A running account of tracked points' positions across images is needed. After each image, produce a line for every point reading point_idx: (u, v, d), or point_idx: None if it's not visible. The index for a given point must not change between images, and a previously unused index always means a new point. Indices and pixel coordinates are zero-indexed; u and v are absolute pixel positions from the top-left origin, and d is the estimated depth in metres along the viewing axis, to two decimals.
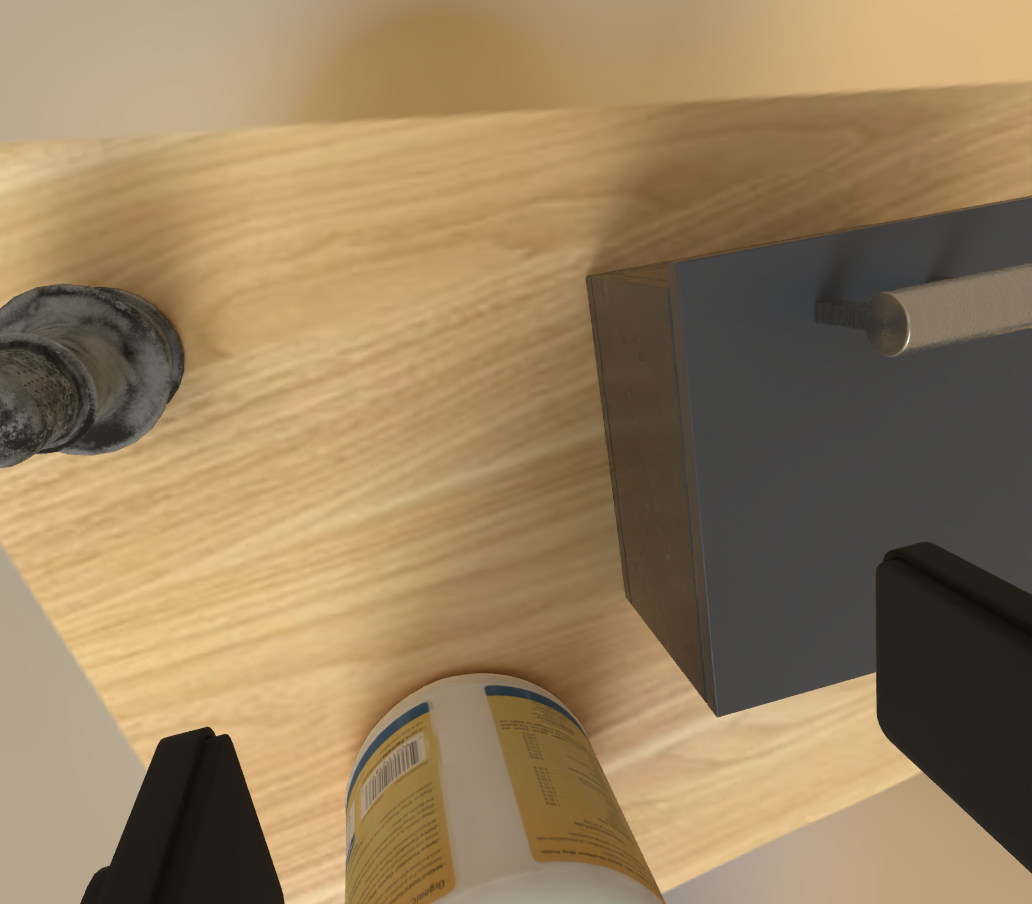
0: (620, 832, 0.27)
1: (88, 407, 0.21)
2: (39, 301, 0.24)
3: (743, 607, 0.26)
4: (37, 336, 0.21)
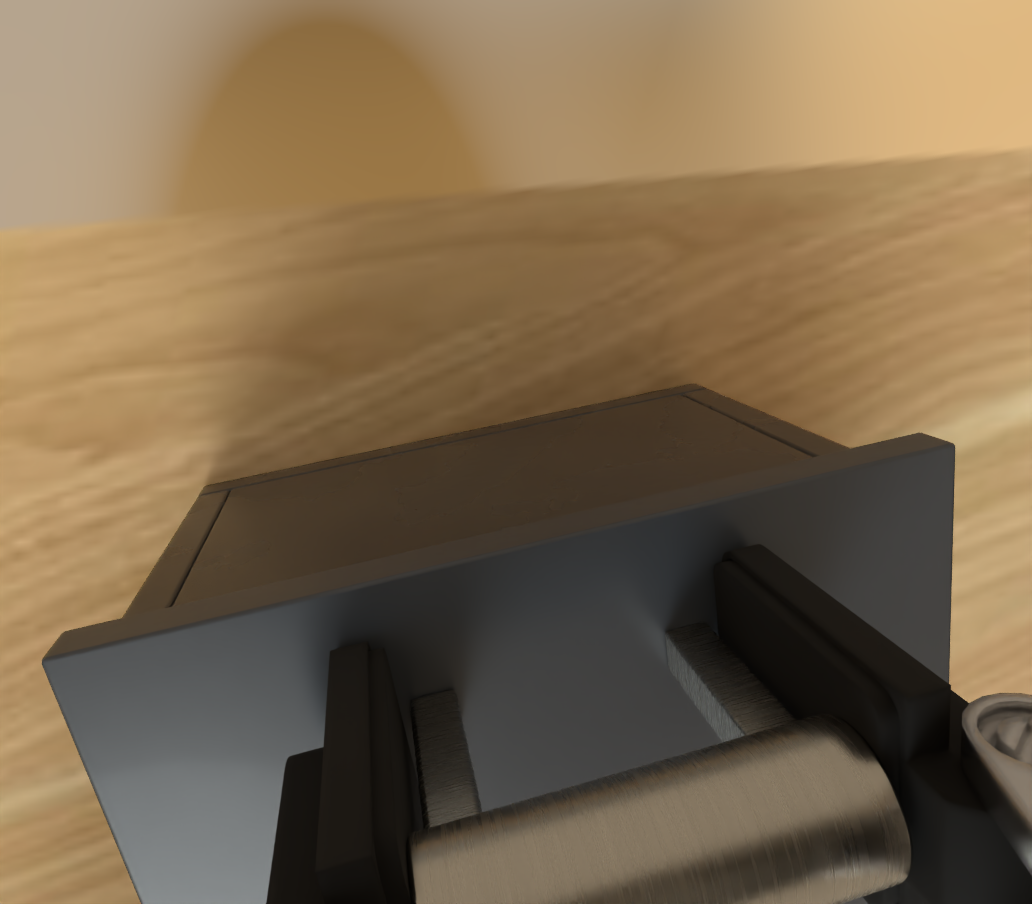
0: None
1: None
2: None
3: None
4: None
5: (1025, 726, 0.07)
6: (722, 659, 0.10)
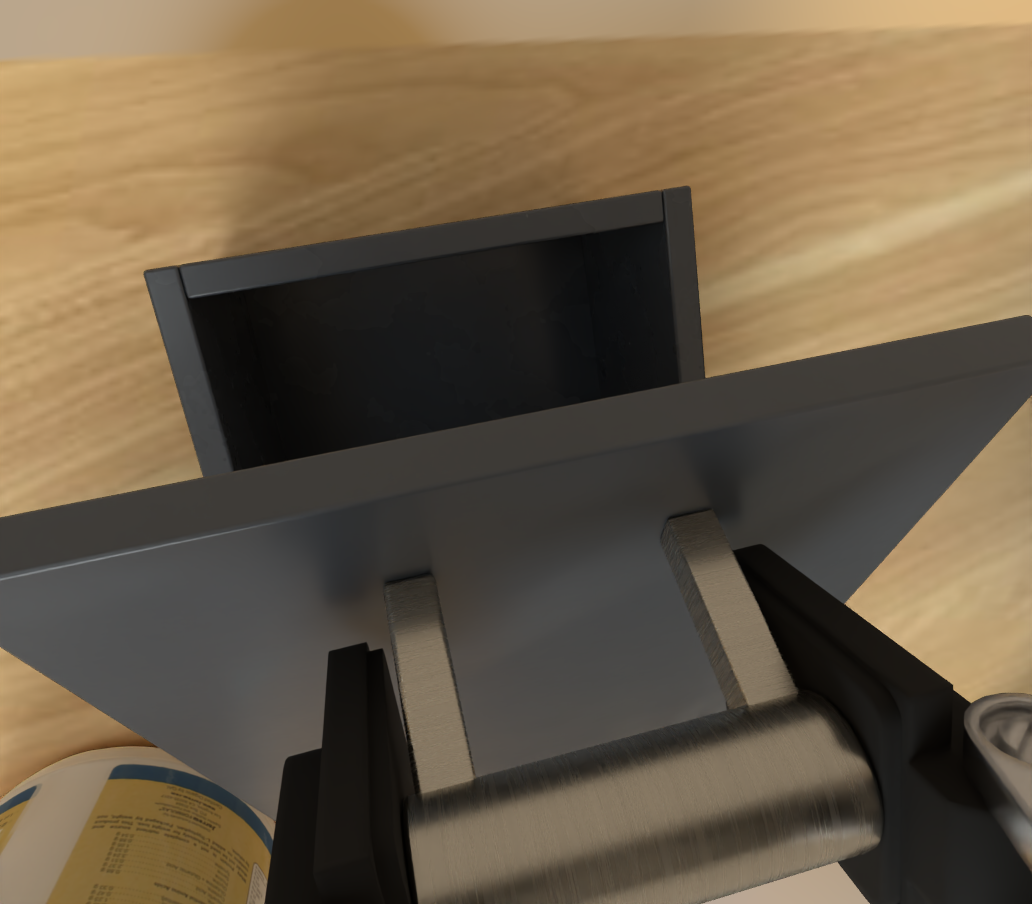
0: None
1: None
2: None
3: None
4: None
5: (1027, 726, 0.07)
6: (726, 575, 0.10)
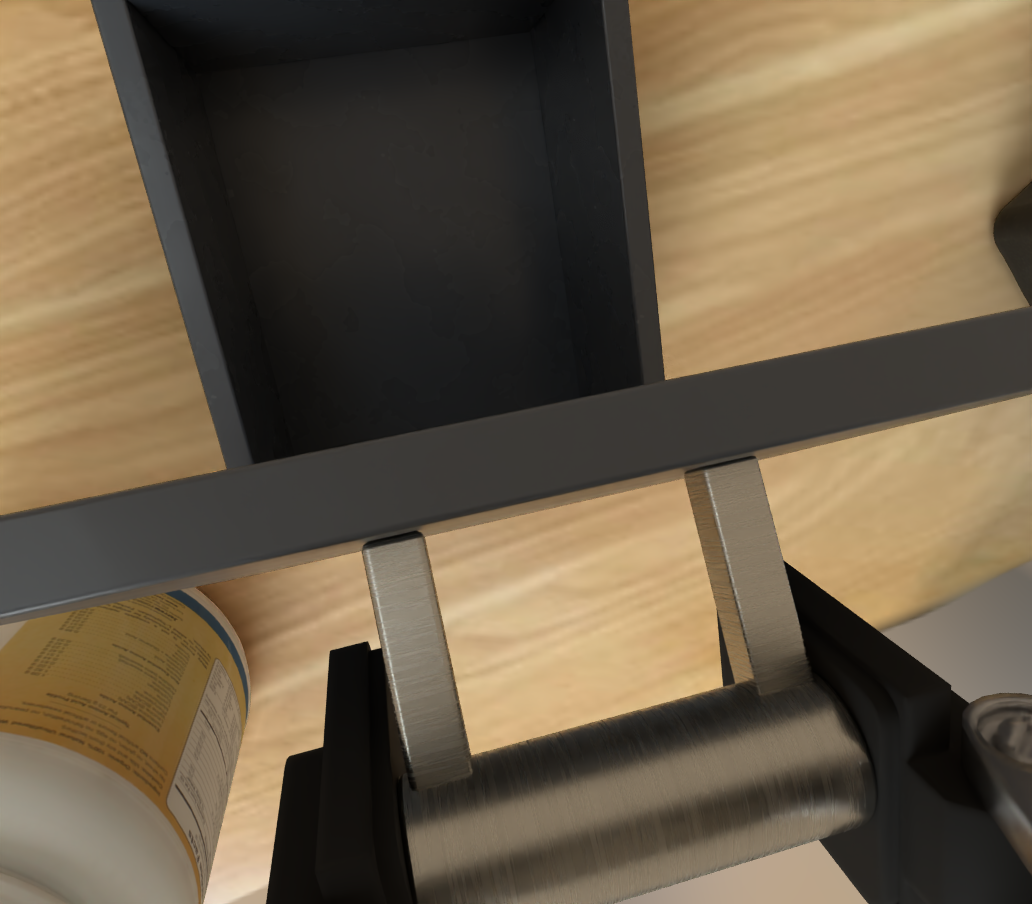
0: (137, 714, 0.22)
1: None
2: None
3: None
4: None
5: (1025, 726, 0.07)
6: (760, 545, 0.08)
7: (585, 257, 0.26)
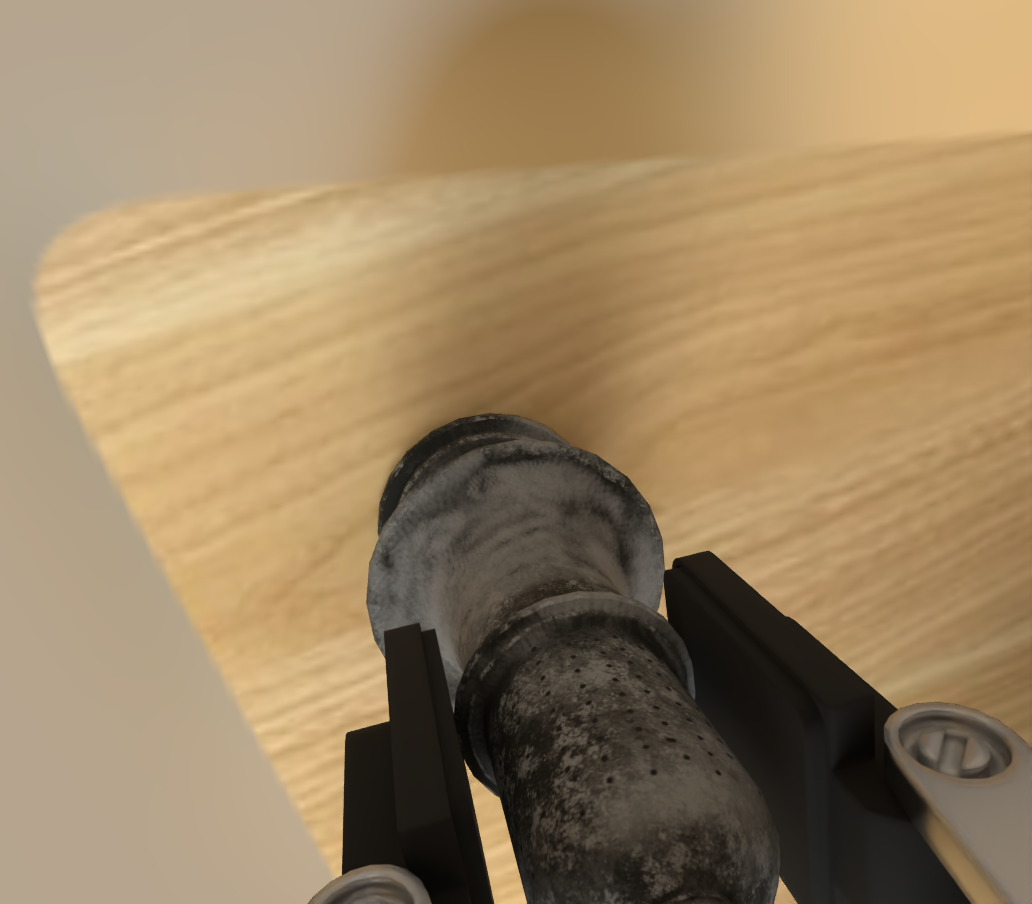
0: None
1: None
2: (486, 474, 0.13)
3: None
4: (618, 599, 0.10)
5: (943, 736, 0.07)
6: None
7: None
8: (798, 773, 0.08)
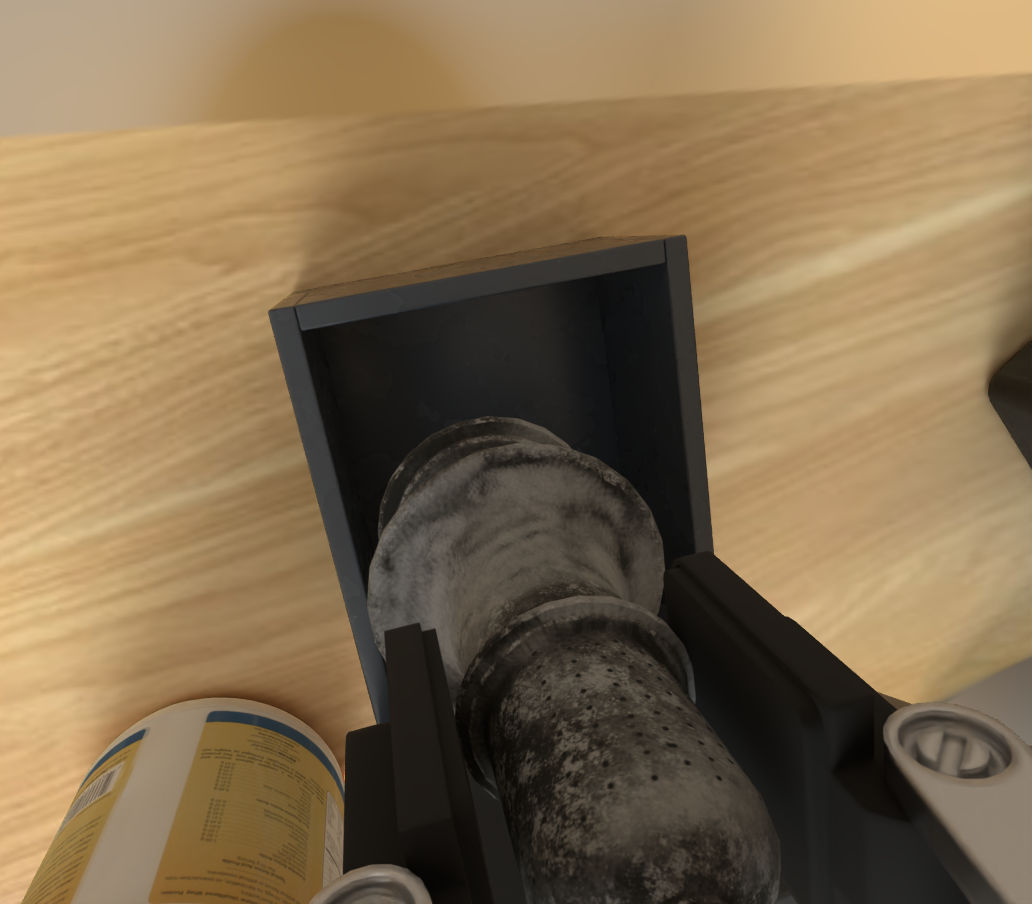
0: (288, 867, 0.26)
1: None
2: (486, 477, 0.13)
3: None
4: (619, 603, 0.10)
5: (942, 736, 0.07)
6: None
7: (643, 456, 0.31)
8: (797, 773, 0.08)
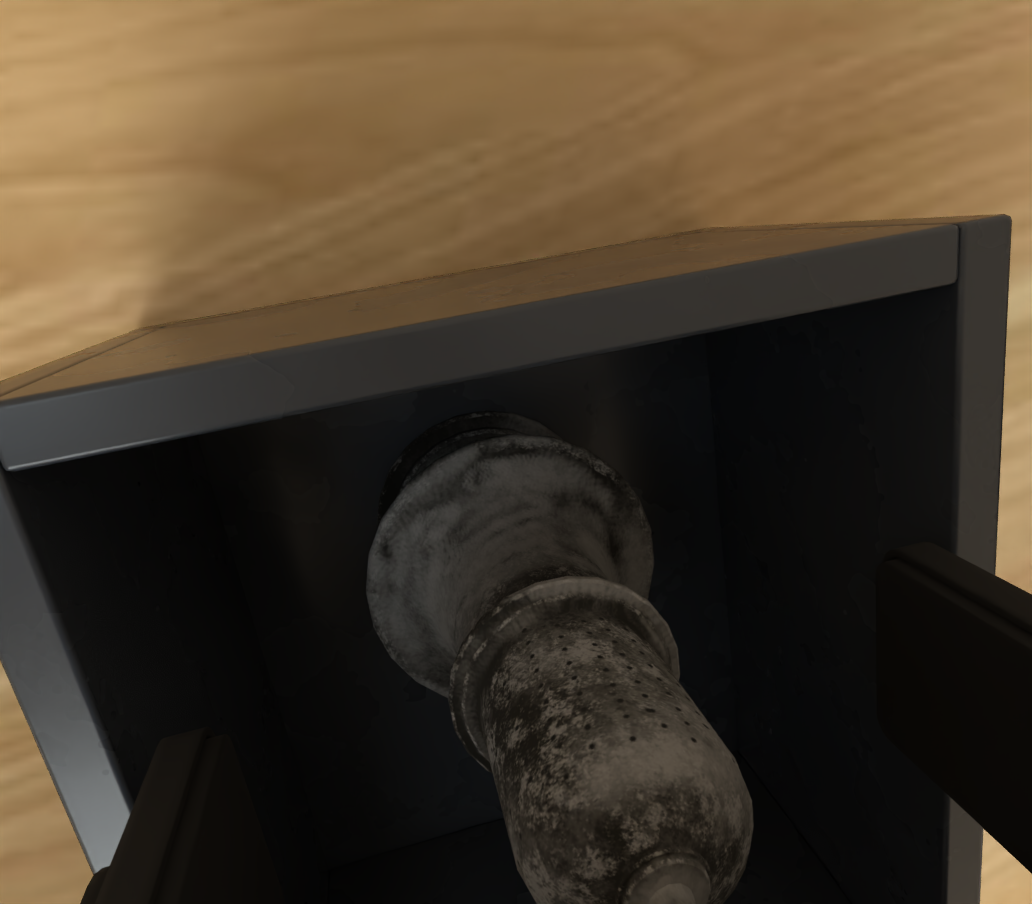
0: None
1: None
2: (480, 467, 0.14)
3: None
4: (605, 584, 0.11)
5: None
6: None
7: (796, 637, 0.16)
8: None
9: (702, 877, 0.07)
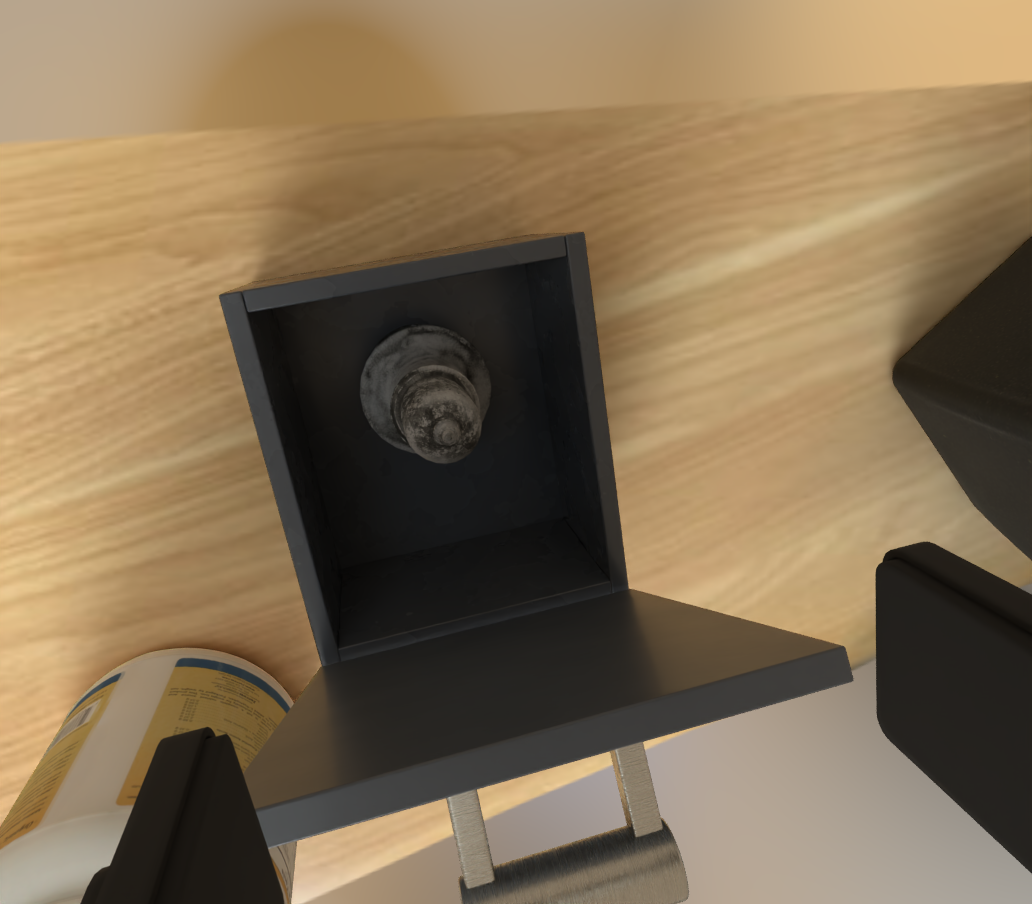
0: None
1: None
2: (409, 338, 0.32)
3: None
4: (447, 367, 0.29)
5: None
6: (637, 760, 0.17)
7: (565, 430, 0.35)
8: None
9: (456, 426, 0.25)
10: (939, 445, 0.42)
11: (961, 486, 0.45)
